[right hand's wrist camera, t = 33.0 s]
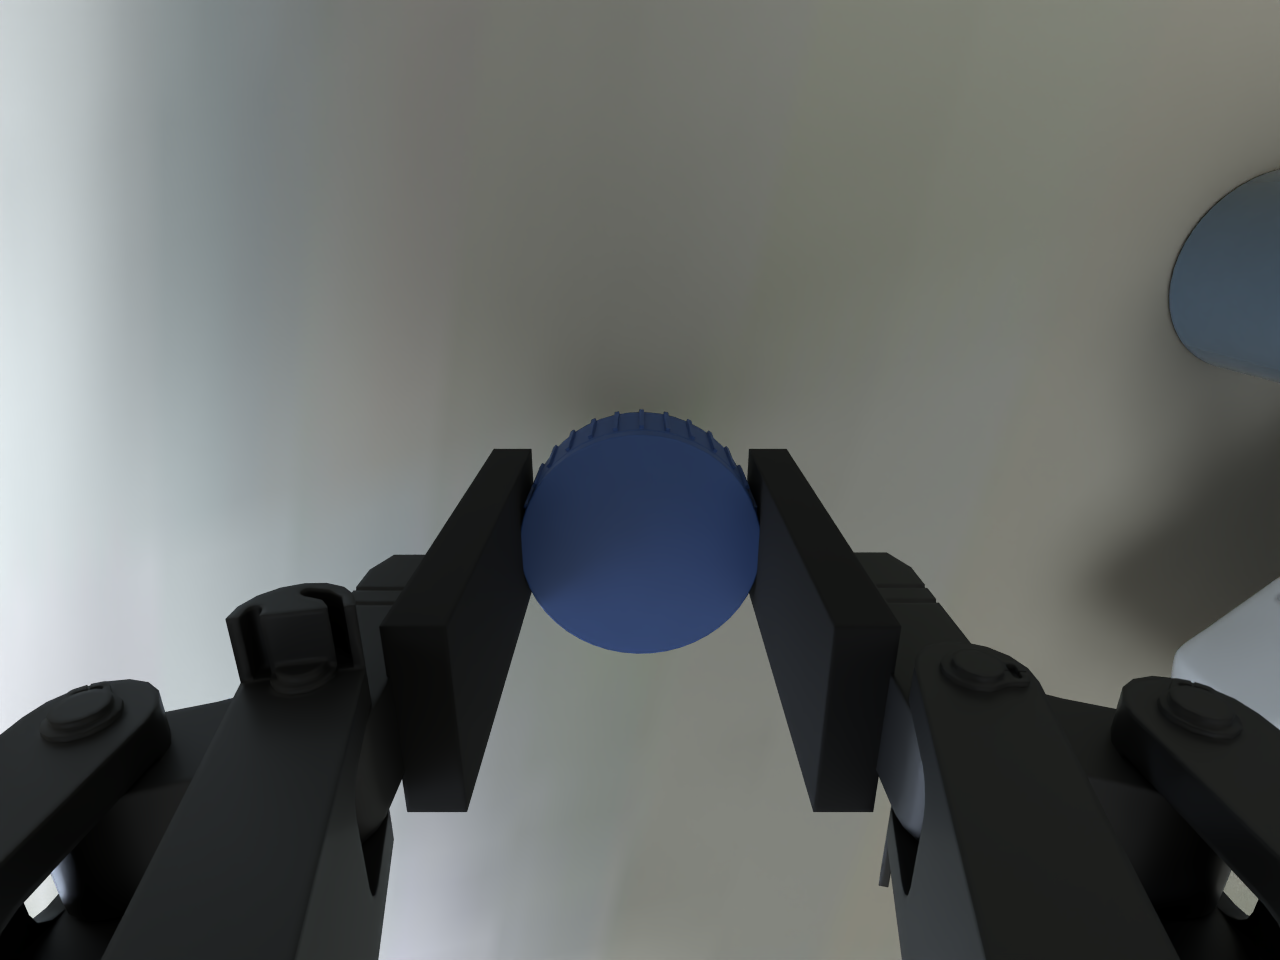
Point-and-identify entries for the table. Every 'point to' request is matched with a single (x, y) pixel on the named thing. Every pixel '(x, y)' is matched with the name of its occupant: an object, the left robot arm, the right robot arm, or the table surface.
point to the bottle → (1233, 282)
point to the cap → (640, 533)
